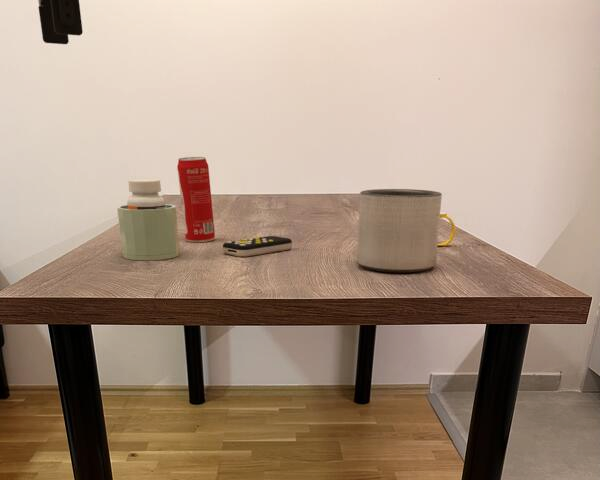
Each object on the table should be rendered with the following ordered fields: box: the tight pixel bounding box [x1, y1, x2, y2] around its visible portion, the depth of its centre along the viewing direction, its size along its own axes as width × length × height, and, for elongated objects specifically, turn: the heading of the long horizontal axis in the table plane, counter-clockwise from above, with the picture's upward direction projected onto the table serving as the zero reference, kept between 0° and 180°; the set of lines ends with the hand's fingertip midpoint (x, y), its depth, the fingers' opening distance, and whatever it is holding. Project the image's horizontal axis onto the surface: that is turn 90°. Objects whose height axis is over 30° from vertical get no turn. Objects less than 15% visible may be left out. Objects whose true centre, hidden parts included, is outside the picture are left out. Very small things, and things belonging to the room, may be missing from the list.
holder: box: [116, 203, 180, 262], centre depth 108 cm, size 10×10×8 cm
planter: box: [356, 188, 443, 274], centre depth 99 cm, size 12×12×11 cm
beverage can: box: [176, 156, 216, 243], centre depth 121 cm, size 6×6×15 cm
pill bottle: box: [126, 178, 166, 210], centre depth 107 cm, size 6×6×11 cm
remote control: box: [222, 235, 293, 258], centre depth 113 cm, size 6×13×2 cm, turn 136°
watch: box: [437, 211, 456, 247], centre depth 119 cm, size 6×3×6 cm, turn 86°
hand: (62, 39), depth 81 cm, fingers open, 9 cm apart
